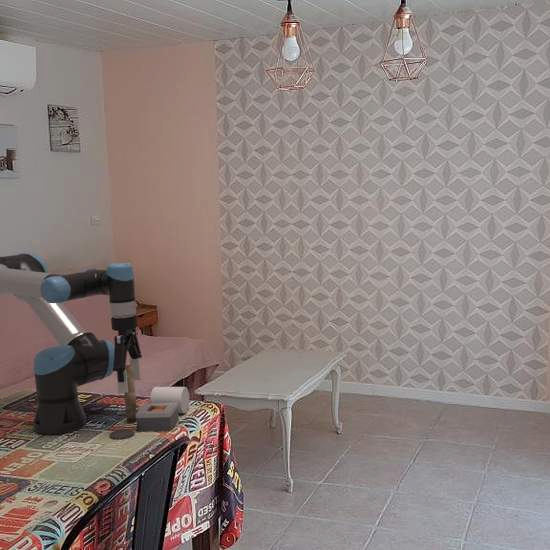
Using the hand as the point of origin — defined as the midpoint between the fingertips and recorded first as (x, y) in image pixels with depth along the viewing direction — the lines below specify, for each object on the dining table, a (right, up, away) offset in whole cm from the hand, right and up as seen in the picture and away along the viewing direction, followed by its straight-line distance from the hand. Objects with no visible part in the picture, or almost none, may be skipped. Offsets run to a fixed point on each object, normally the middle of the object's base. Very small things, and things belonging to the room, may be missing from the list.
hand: (129, 386), depth 223 cm
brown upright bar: (0, -11, +2) cm, 11 cm away
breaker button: (+9, -9, -4) cm, 13 cm away
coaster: (0, -12, -10) cm, 16 cm away
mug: (+11, -9, +11) cm, 18 cm away
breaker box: (+9, -11, -3) cm, 15 cm away
